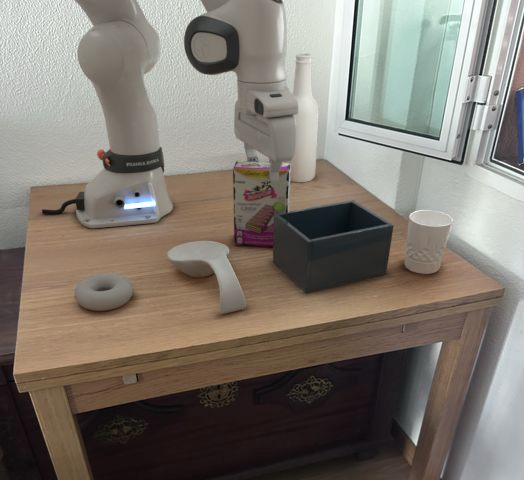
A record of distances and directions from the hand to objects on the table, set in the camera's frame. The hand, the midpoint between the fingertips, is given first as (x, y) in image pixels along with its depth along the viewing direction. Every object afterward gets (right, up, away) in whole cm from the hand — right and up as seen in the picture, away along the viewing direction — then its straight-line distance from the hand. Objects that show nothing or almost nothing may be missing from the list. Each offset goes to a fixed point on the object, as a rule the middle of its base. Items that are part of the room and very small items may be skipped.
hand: (262, 173), depth 106 cm
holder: (+13, -19, -1) cm, 23 cm away
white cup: (+31, -18, 0) cm, 36 cm away
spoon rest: (-10, -22, -5) cm, 25 cm away
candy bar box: (0, -12, +9) cm, 15 cm away
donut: (-28, -26, -10) cm, 39 cm away
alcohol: (+10, +13, +43) cm, 46 cm away
